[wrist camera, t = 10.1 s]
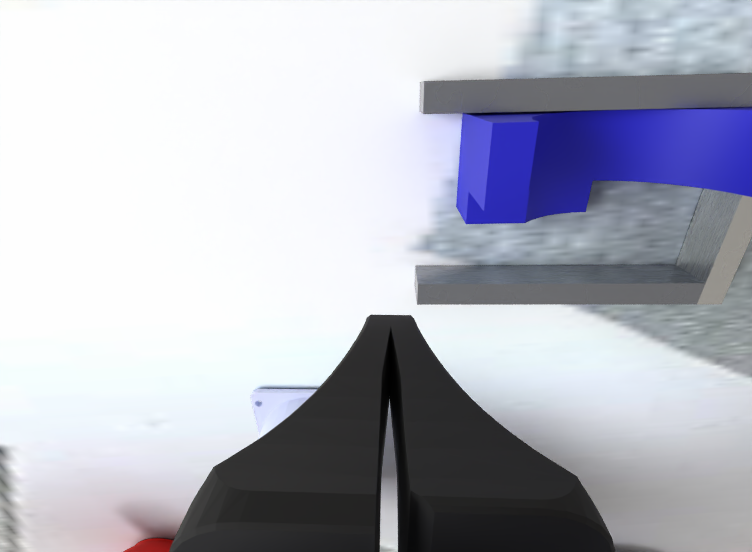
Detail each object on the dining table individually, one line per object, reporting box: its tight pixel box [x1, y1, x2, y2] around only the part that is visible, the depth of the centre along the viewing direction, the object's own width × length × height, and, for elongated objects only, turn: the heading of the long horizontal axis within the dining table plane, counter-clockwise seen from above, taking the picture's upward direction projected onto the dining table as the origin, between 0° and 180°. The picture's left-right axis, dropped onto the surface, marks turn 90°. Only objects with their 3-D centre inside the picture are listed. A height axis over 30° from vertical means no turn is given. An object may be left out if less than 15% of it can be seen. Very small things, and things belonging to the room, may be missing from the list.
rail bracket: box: [415, 73, 752, 304], centre depth 18 cm, size 10×15×2 cm
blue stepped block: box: [456, 107, 752, 224], centre depth 16 cm, size 12×4×6 cm, turn 92°
